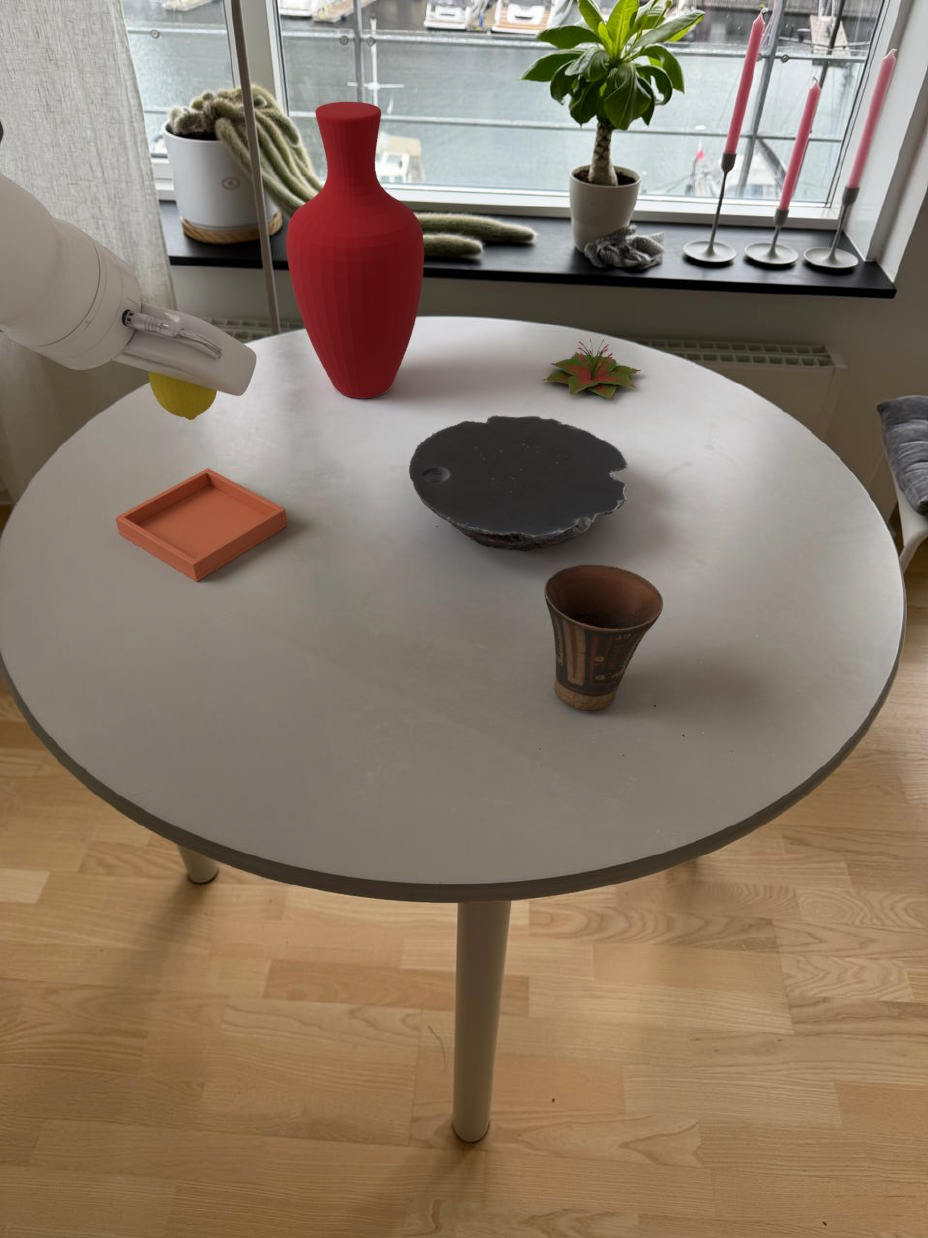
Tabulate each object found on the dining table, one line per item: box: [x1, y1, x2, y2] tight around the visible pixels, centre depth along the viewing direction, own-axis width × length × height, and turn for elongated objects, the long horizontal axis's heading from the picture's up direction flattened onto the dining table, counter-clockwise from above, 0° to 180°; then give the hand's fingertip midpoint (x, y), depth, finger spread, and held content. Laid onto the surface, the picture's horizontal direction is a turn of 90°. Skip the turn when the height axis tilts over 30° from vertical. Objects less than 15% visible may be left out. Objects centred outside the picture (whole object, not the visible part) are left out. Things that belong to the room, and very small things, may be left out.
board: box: [408, 414, 629, 552], centre depth 94 cm, size 22×22×5 cm
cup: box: [543, 563, 664, 711], centre depth 75 cm, size 9×9×10 cm
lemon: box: [148, 371, 218, 421], centre depth 81 cm, size 6×6×8 cm
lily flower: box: [542, 338, 642, 401], centre depth 115 cm, size 12×12×5 cm
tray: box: [114, 467, 288, 583], centre depth 92 cm, size 11×11×2 cm
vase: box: [285, 101, 425, 399], centre depth 105 cm, size 15×15×30 cm
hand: (186, 370), depth 81 cm, fingers closed on lemon, 5 cm apart
